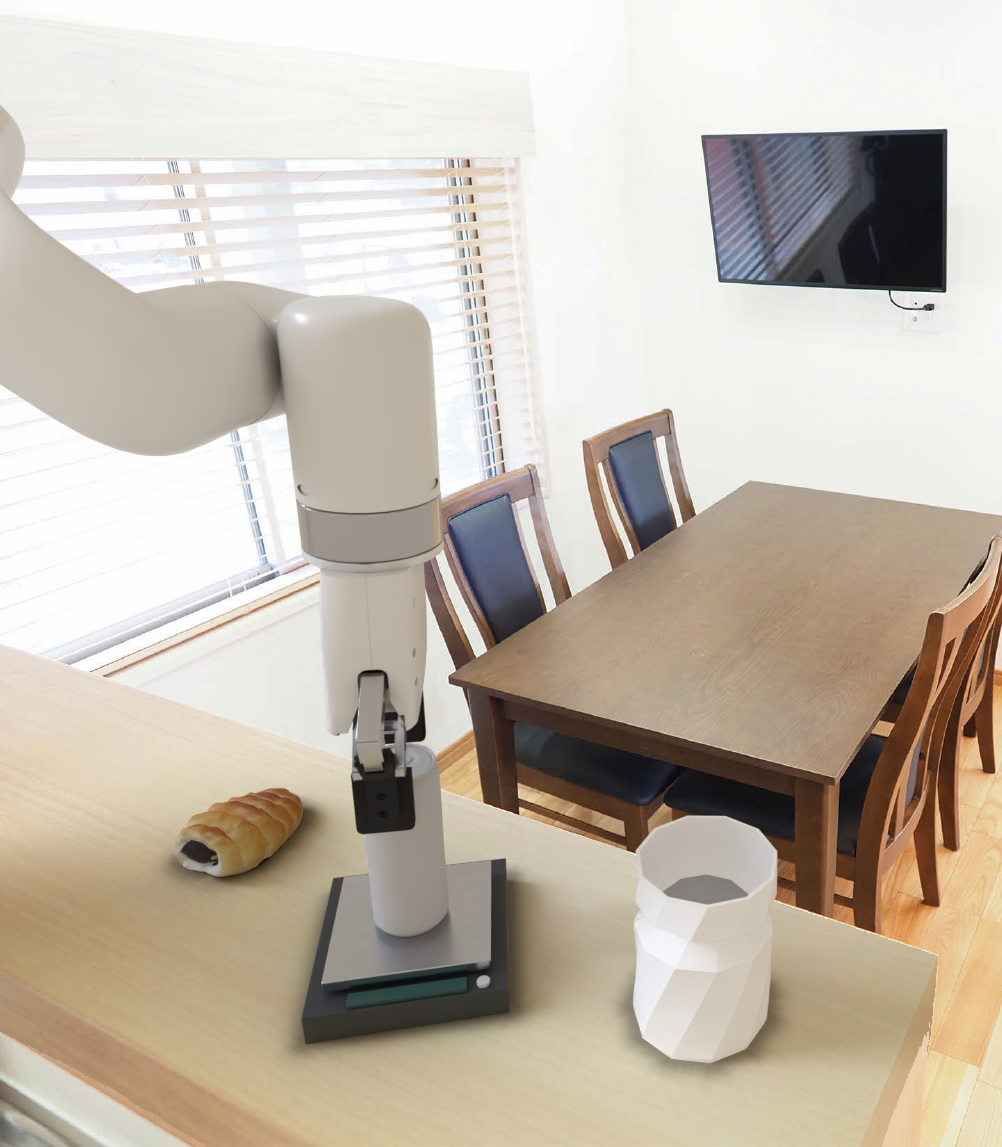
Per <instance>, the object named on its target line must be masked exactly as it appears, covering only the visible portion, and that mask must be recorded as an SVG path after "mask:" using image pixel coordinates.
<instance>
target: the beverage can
mask: <svg viewBox="0 0 1002 1147" xmlns="http://www.w3.org/2000/svg"><path fill="white" fill-rule="evenodd" d="M385 748H391V750H392V752H393V753H395V744H387V745H385ZM436 758H437V757H436V754H435V752H434V751H433V750H432V749H431V748H429V747H428V746H426V745H422V744H419V743H414V742H410V743H406V767H412V775H413V788H414V801H415V814H416V822H415V827H414V828H413V829H411V830H406V831H395V832H384V833H374V834H363V840H364V848H365V855H366V856H365V857H366V865H367V872H368V873H367V874H369V882H370V890H371V898H372V907H373V915H374V921H375V923H376V924H377V926H378V927H379V928H380V929H382V930H383V931H384V932H386V933H388V934H391V935H394V936H399V937H411V936H416V935H420V934H422V933H425V932H427V931H429V930H431V929H432V928H434V927H435V926H436V925H437V924H438V923H439V922H440V921H441V920H442V919H443V918H444V917H445V915H446V913H447V910H448V906H449V897H448V885H447V873H446V865H447V862H446V851H445V839H444V838H445V837H444V821H443V806H442V805H443V804H442V803H443V802H442V791H441V788H442V787H441V778H440V768H439V763H438V761H437V759H436Z"/></svg>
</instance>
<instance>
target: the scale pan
mask: <svg viewBox="0 0 1002 1147" xmlns="http://www.w3.org/2000/svg"><path fill="white" fill-rule="evenodd" d="M480 861H481V862H477V861H471V862H472V863H468V862H463V863H464V864H459V863H454V864H455V865H451V864H446V873H447V885H448V897H449V906H448V910H447V913H446V915H445V917H444V918H443V919H442V920H441V921H440V922H439V923H438V924H437V925H436V926H435V927H434V928H432V929H431V930H429V931H427V932H425V933H422V934H420V935H416V936H411V937H399V936H394V935H391V934H388V933H386V932H384V931H383V930H382V929H380V928H379V927H378V926H377V924H376V923H375V921H374V915H373V907H372V898H371V890H370V882H369V874H368V873H367V874H368V875H363V874H358V875H359V876H355V875H349V876H350V877H346V876H343V877H344V879H343V883H342V888H341V893H340V897H339V902H338V907H337V912H336V916H335V921H334V926H333V930H332V935H331V940H330V944H329V949H328V954H327V959H326V963H325V968H324V973H323V977H322V982H321V985H322V991H323V992H330V991H337V990H344V989H351V988H358V987H365V986H372V985H379V984H386V983H393V982H401V981H408V980H415V979H422V978H429V977H436V976H443V975H450V974H457V973H464V972H471V971H478V970H485V969H491V967H492V864H491V861H485V860H480Z"/></svg>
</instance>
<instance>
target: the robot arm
mask: <svg viewBox="0 0 1002 1147" xmlns="http://www.w3.org/2000/svg"><path fill="white" fill-rule="evenodd" d="M25 161H26V144H25V140H24V137H23V133H22V131H21V128H20V126H19V124H18V123H17V122H16V121H15V119H14V118H13V116H12V115H11V114H10V113H9V112H8V111H7V110H6V109H5V108H4V107H3V106H2V105H1V104H0V385H1V386H2V387H3V388H5V389H6V390H8V391H9V392H11V393H12V394H15V395H16V396H18V398H20V399H22V400H24V401H25V402H26V403H28V404H30V405H31V406H32V407H34V408H36V409H38V410H39V411H41V413H44V414H46V416H49V417H50V418H52V419H53V420H55V421H57V423H60V424H62V425H64V426H66V427H67V428H69V429H71V430H73V431H74V432H76V433H78V434H80V435H82V436H84V437H86V438H88V439H90V440H92V441H94V442H97V443H100V444H101V445H103V446H104V445H105V446H107V447H110V448H112V449H115V450H117V451H120V452H121V451H122V452H125V453H130V454H133V455H138V456H144V457H168V456H169V457H170V456H174V455H181V454H185V453H188V452H191V451H193V450H195V449H198V448H200V447H203V446H205V445H207V444H210V443H213V442H214V441H216V440H218V439H220V438H222V437H225V436H227V435H228V434H231V433H233V432H235V431H237V430H239V429H242V428H244V427H248V426H252V425H254V424H258V423H261V422H265V421H268V420H271V419H274V418H278V417H280V416H283V415H284V416H285V418H286V419H285V420H286V428H287V435H288V444H289V452H290V461H291V468H292V469H291V470H292V479H293V486H294V495H295V502H296V512H297V519H298V530H299V536H300V537H299V538H300V549H301V556H302V558H303V560H304V561H306V563H308V564H310V565H312V566H314V567H316V568H319V630H320V634H319V635H320V648H321V651H320V652H321V661H322V662H321V664H322V680H323V693H324V695H323V696H324V709H325V710H324V711H325V725H326V726H325V728H326V730H327V731H328V732H329V734H330V735H332V736H333V737H339V736H340V735H341V734H349V732H350V729H352V746H351V747H352V748H351V749H352V750H351V754H352V756H351V774H350V782H351V792H352V800H353V809H354V818H355V819H354V820H355V829H356V832H357V833H358V834H360V835H364V834H374V833H384V832H395V831H406V830H411V829H413V828H414V827H415V822H416V814H415V801H414V788H413V775H412V767H406V743H421V742H424V741H425V740H426V737H427V725H426V710H425V697H424V683H425V676H426V666H427V650H428V612H427V610H428V609H427V594H426V593H427V592H426V576H425V575H426V574H425V563H426V562H429V561H431V560H433V559H434V558H436V557H437V556H438V555H440V554H441V553H442V552H443V550H444V547H445V540H444V523H443V521H444V520H443V506H442V505H443V504H442V492H441V475H440V459H439V458H440V456H439V438H438V421H437V420H438V419H437V404H436V384H435V369H434V351H433V350H434V349H433V338H432V330H431V326H430V324H429V322H428V319H427V317H426V315H425V314H424V313H423V311H422V310H421V309H420V308H418V307H417V306H415V305H413V304H412V303H409V302H407V301H403V300H400V299H396V298H390V297H389V298H388V297H382V296H374V295H373V296H371V295H357V294H356V295H353V294H352V295H351V294H345V295H343V294H338V295H337V294H336V295H334V294H333V295H318V296H316V295H312V294H307V293H306V294H305V293H300V292H296V291H291V290H287V289H282V288H277V287H273V286H268V285H264V284H260V283H255V282H249V281H240V280H213V281H206V282H200V283H194V284H181V285H176V286H170V287H164V288H158V289H152V290H145V291H140V292H134V291H133V290H131V289H129V288H128V287H127V286H124V285H122V284H121V283H119V282H118V281H117V280H115V279H113V278H112V277H111V276H109V275H108V274H106V273H104V272H103V271H101V270H100V269H99V268H98V267H95V266H94V265H93V264H91V263H89V261H87V260H85V259H84V258H83V257H81V256H79V255H78V254H77V253H75V252H74V251H72V250H71V249H70V248H68V247H67V246H66V245H64V244H62V243H61V242H60V241H58V239H56V238H55V237H53V236H52V235H50V234H49V233H48V232H47V231H45V230H44V229H43V228H41V227H40V226H39V225H38V224H37V223H36V222H35V221H33V220H32V219H31V218H30V217H29V216H28V215H27V214H26V213H24V211H22V209H21V208H20V207H19V206H18V205H17V204H16V202H14V200H13V199H12V197H13V196H14V194H15V192H16V190H17V189H18V186H19V184H20V181H21V178H22V176H23V172H24V166H25ZM351 727H352V728H351ZM392 744H395V753H393V752H392V750H391V748H385V746H386V745H392Z"/></svg>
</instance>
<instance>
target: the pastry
mask: <svg viewBox="0 0 1002 1147" xmlns="http://www.w3.org/2000/svg"><path fill="white" fill-rule="evenodd" d="M301 799H302V798H301V797H300V796H299V795H298V794H295V793H293V792H290V790H288V789H287V788H285V787H271V788H266V789H262V790H260V791H257V792H251V791H250V792H248V793H247V794H245V795H242V796H232V797H230V798H229V799H227V801H224V802H214V803H212V804H211V805H210V806H209V807H208V809H207V810H206V811H205V812H201V813H196V814H194V815H192V816H191V818H190V819H189V820H188V821H187V824H186V826H185V827H183V828H181V829H180V831H179V834H178V835H177V836H176V838H174V841H173V844H172V845H171V847H170V851H171V856H172V857H173V859H175V860H176V861H178V862H179V864H180V865H182V866H183V868H185V869H187V870H189V871H194V872H195V871H196V872H199V873H207V875H208V874H209V875H211V876H214V877H218V878H219V877H230V876H234V875H236V876H237V875H241V874H244V873H246V872H248V871H251V870H252V869H255V868H257V867H258V866H259V864H260V863H261V862H262V861H264V860H265V859H270V858H271V857H272V856H273V855H274V854H275V853H276V852H278V851H279V849H280V847H281V846H283V845H284V844H285V843H286V842H287V840H288V839H289V838H290V837H291V836H292V835H293V834H294V833H295V831H296V830H297V829H298V827H299V826H300V824H301V823H302V819H303V816H304V805H303V802H302V800H301Z"/></svg>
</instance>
